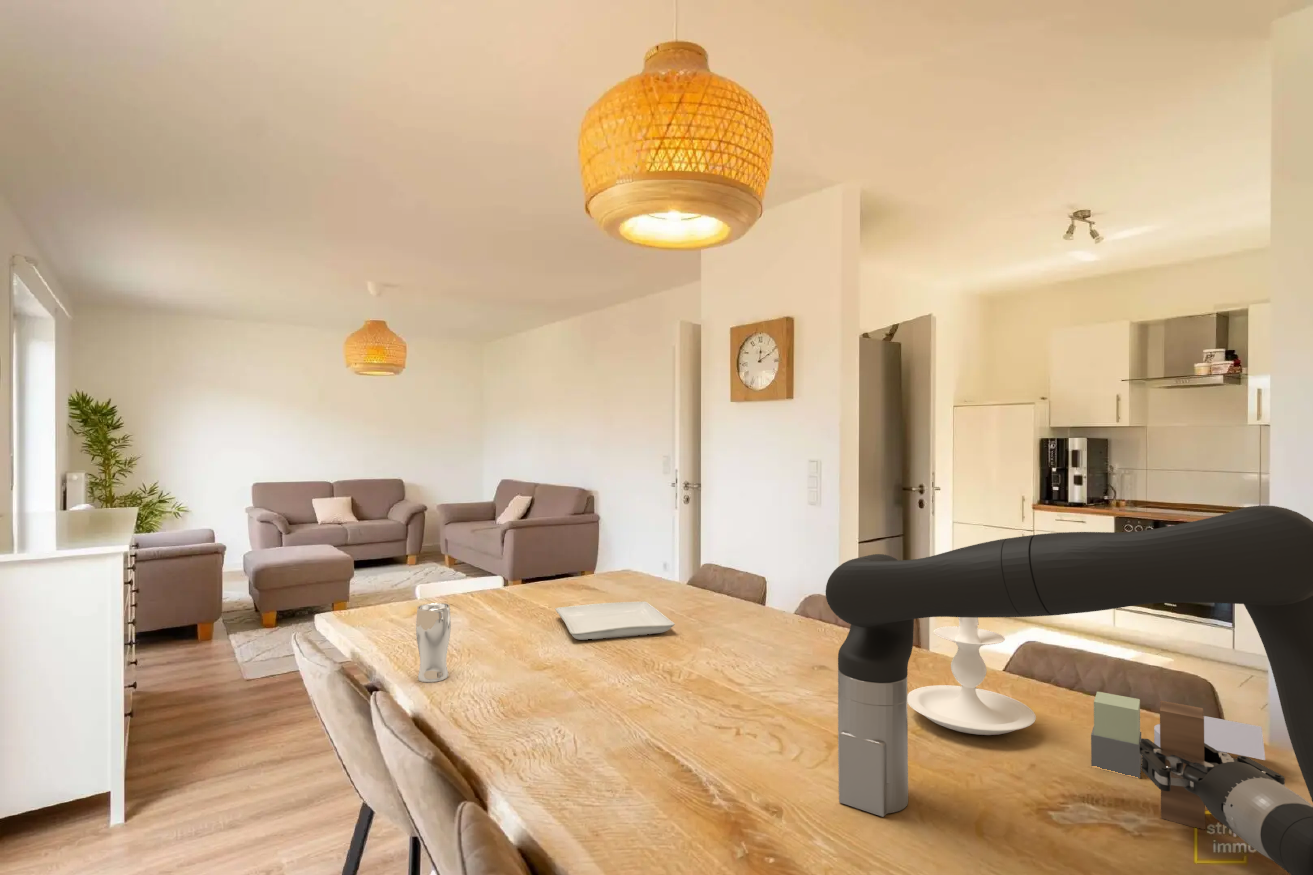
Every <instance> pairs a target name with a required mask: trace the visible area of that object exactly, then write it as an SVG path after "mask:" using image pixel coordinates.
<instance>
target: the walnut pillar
mask: <svg viewBox="0 0 1313 875" xmlns="http://www.w3.org/2000/svg"><path fill="white" fill-rule="evenodd" d="M1204 716H1205V715H1204V708H1203V707H1198V706H1193V705H1187V704H1184V703H1183V704H1181V703H1177V702H1173V701H1172V702H1170V701H1165V700H1160V703H1159V724H1160V748H1161V749H1163V751H1166V752H1168V753H1171V754H1178V753H1180V754H1183V755H1185V756H1188V757H1190V758H1192V759H1195V760H1197V761H1205V760H1204ZM1165 765H1166V766H1170V767H1171V764H1170V761H1169V760H1167V759H1165ZM1186 765H1187V764H1185V763H1183V772H1184V769H1185V766H1186ZM1160 819H1162V820H1166V821H1170V822H1174V823H1177V824H1181V825H1185V826H1188V827H1192V828H1195V827H1197V828H1196V829H1199V828H1202V829H1201V830H1203V829H1205V830H1206V806H1205V805H1204V803H1203V802H1202V800H1201V798H1200V797H1199V796H1198V795H1196V794H1193V793H1191V792H1189V791H1187V790H1186V789H1185V788H1184V787H1183V786H1174V785H1171V791H1163V790H1161V789H1160Z"/></svg>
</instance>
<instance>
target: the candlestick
mask: <svg viewBox="0 0 1313 875" xmlns="http://www.w3.org/2000/svg"><path fill="white" fill-rule="evenodd" d="M957 618H958V626H957V625H955V626H954V625H951V626H950V625H949V626H941V627H937V628H935V629H934V630H933V633H934V635H935V636H937V637H938V638H942V639H944V640H948V641H950V642H953V643H955V644H956V646H957V651H956V653H955V654H954V656H953V657H952V660H951V662H950V670H951V673H952V675H953V677H954V678H955V680H956V682H958V684H960V685H950V684H949V685H947V684H946V685H945V684H938V685H927V686H921V687H918V688H915V689H912V690H911V691H909V692H907V705H908V706H909V707H910V708H911V709H912V710H914V711H915V712H917V713H919V714H920V715H922V716H924V717H925V718H927V719H928V720H929V721H931V722H933V723H935V724H937V725H939V726H941V727H944V728H946V729H949V730H953V731H956V732H959V733H965V734H970V735H971V734H972V735H977V736H978V735H981V736H983V735H984V736H992V735H994V736H995V735H1002V734H1003V735H1004V734H1008V733H1011V732H1014V731H1018V730H1022V729H1025V728H1028V727H1030V726H1032V725H1033V724H1034V723H1035V721H1036V719H1037V716H1036V713H1035V712H1034V710H1032V708H1030V707H1029V706H1028V705H1026V704H1025V703H1024V702H1022V701H1019V700H1018V699H1015V698H1013V697H1010V696H1007V695H1005V694H1003V693H999V692H995V691H991V690H987V689H982V688H979V687H978V686H979V685H980V684H982V683H983V682H984V679H985V678H986V675H987V666H986V662H985V661H984V659H983V657H982V656H981V654H980V648H981V647H983V646H989V645H990V646H991V645H996V644H997V645H998V644H1001V643H1003V642H1004V641H1005V640H1006V638H1005V637H1004V635H1002V634H1000V633H999V632H998V633H997V632H995V631H991V630H988V629H985V628H984V629H983V628H980V627H979V628H978V625H979V618H970V617H957ZM977 687H978V688H977Z"/></svg>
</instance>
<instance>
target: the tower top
mask: <svg viewBox="0 0 1313 875" xmlns="http://www.w3.org/2000/svg"><path fill="white" fill-rule="evenodd" d="M1093 727H1094V735H1097V736H1102V737H1106V738H1111V739H1116V740H1120V741H1125V742H1129V743H1134V744H1139V737H1140V732H1141V699H1140V698H1135V697H1129V696H1123V695H1118V694H1113V693H1108V692H1102V691H1097V690H1096V695H1095V698H1094V700H1093Z"/></svg>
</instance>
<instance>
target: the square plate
mask: <svg viewBox="0 0 1313 875" xmlns="http://www.w3.org/2000/svg"><path fill="white" fill-rule="evenodd" d="M554 609H555V612H556V613H557V614H558V615H559V617H560V618H561V619H562V621H563V622H564V623H565V625H566V628H567V631H568V632H569V634H571V636H572V637H573V638H574V639H576V640H581V641H586V640H587V641H588V639H592V640H602V639H603V638H606V639H614V638H616V639H617V638H625V637H626V638H627V637H636V636H638V635H640V636H648V635H647V634H649V635H654V634H655V635H656V634H662V633H666V632H667V631H669V630H670V629H672V627H674V626H675V625H676V624H675V622H674V621H672V620H671V619H670V618H668V617H667V616H666V615H664V614H663V613H662V612H661V611H659V610H658V609H657V608H656V607H655V606H653V605H651V604H650V603H649V602H647V601H645V600H644V601H622V602H621V601H619V602H618V601H617V602H602V603H599V602H598V603H591V604H589V603H587V604H581V605H580V604H579V605H571V606H561V607H555V608H554ZM638 637H639V636H638Z"/></svg>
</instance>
